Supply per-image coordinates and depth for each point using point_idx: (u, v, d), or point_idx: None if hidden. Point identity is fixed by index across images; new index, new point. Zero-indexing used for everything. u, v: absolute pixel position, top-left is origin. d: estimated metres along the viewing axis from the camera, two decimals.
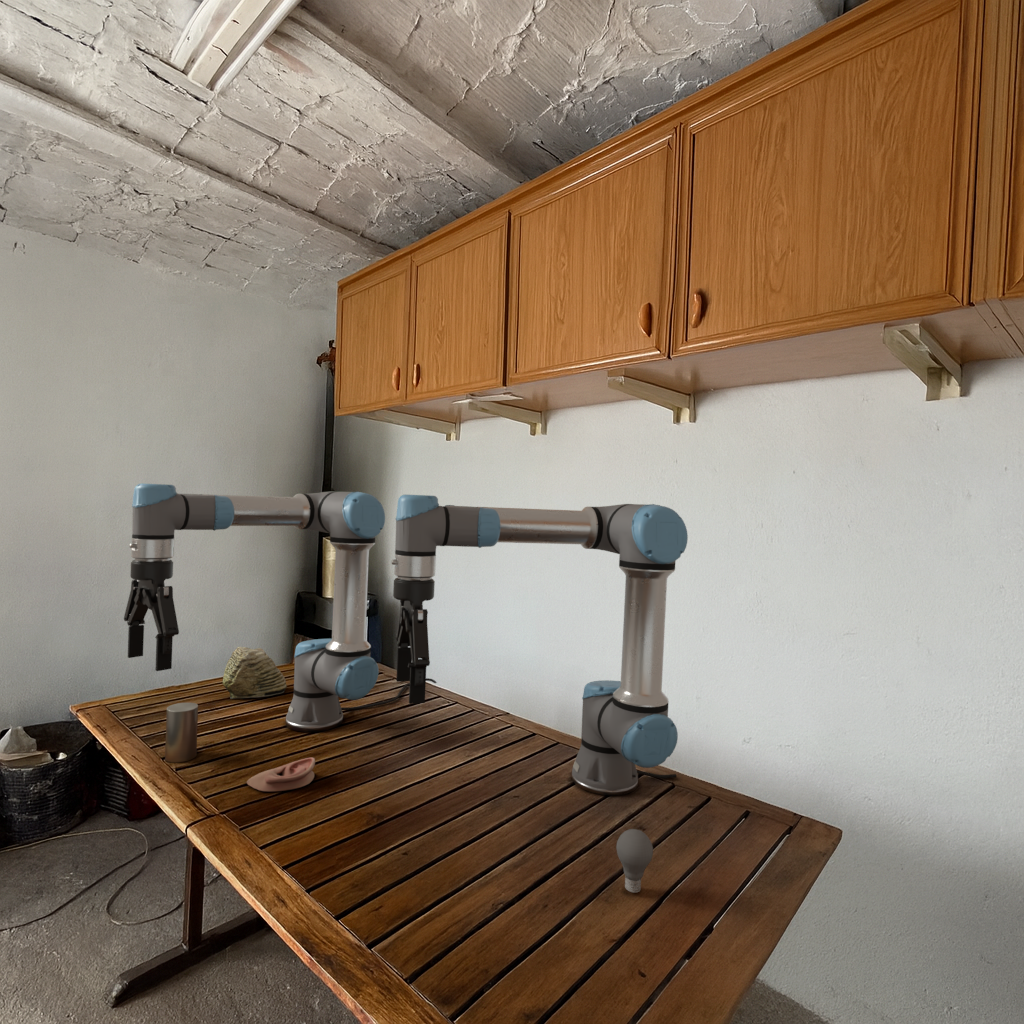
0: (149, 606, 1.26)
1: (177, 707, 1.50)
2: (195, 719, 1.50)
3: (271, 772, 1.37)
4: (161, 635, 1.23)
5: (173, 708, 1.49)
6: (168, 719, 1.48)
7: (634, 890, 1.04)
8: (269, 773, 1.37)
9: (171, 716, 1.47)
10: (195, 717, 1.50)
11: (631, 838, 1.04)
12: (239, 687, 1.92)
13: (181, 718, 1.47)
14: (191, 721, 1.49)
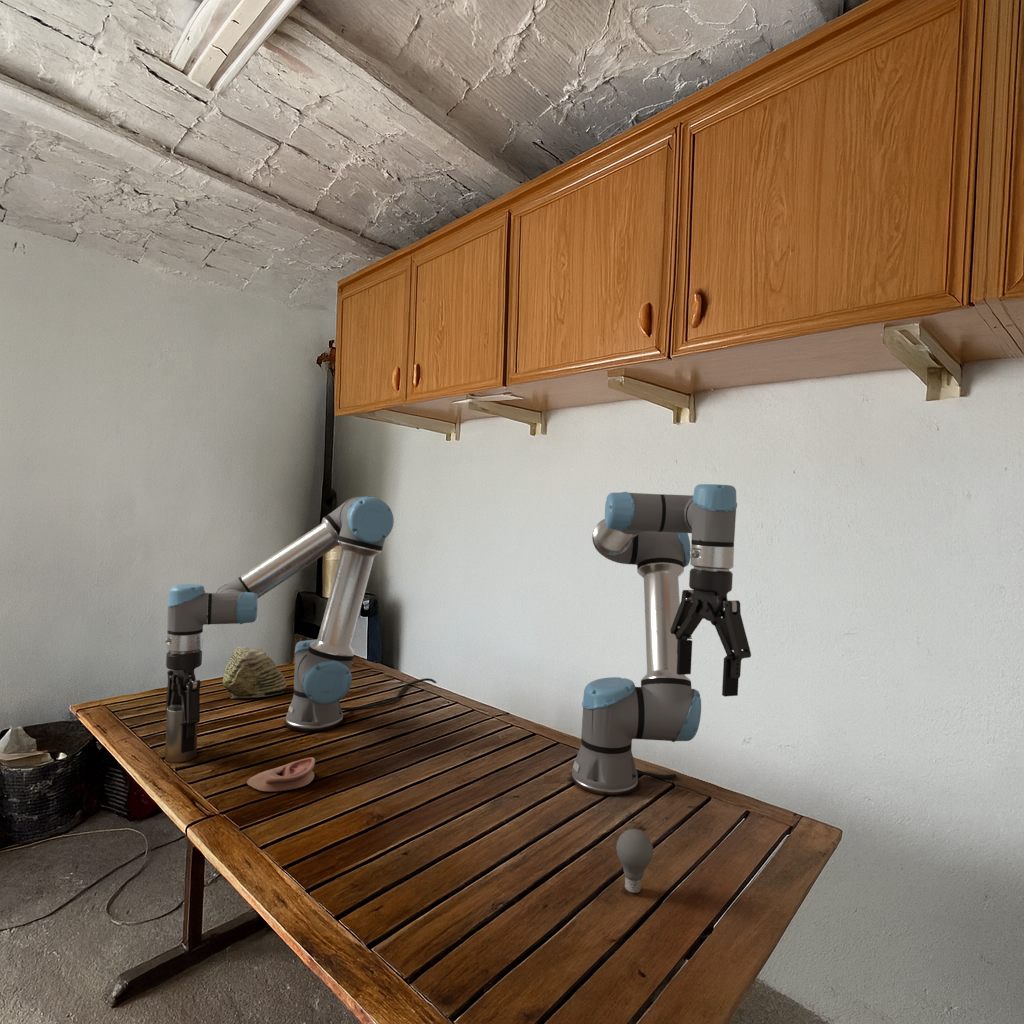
0: (179, 694, 1.47)
1: (177, 707, 1.50)
2: None
3: (271, 772, 1.37)
4: (185, 724, 1.46)
5: (173, 708, 1.49)
6: (168, 719, 1.48)
7: (634, 890, 1.04)
8: (269, 773, 1.37)
9: (171, 716, 1.47)
10: None
11: (631, 838, 1.04)
12: (239, 687, 1.92)
13: (181, 718, 1.47)
14: None
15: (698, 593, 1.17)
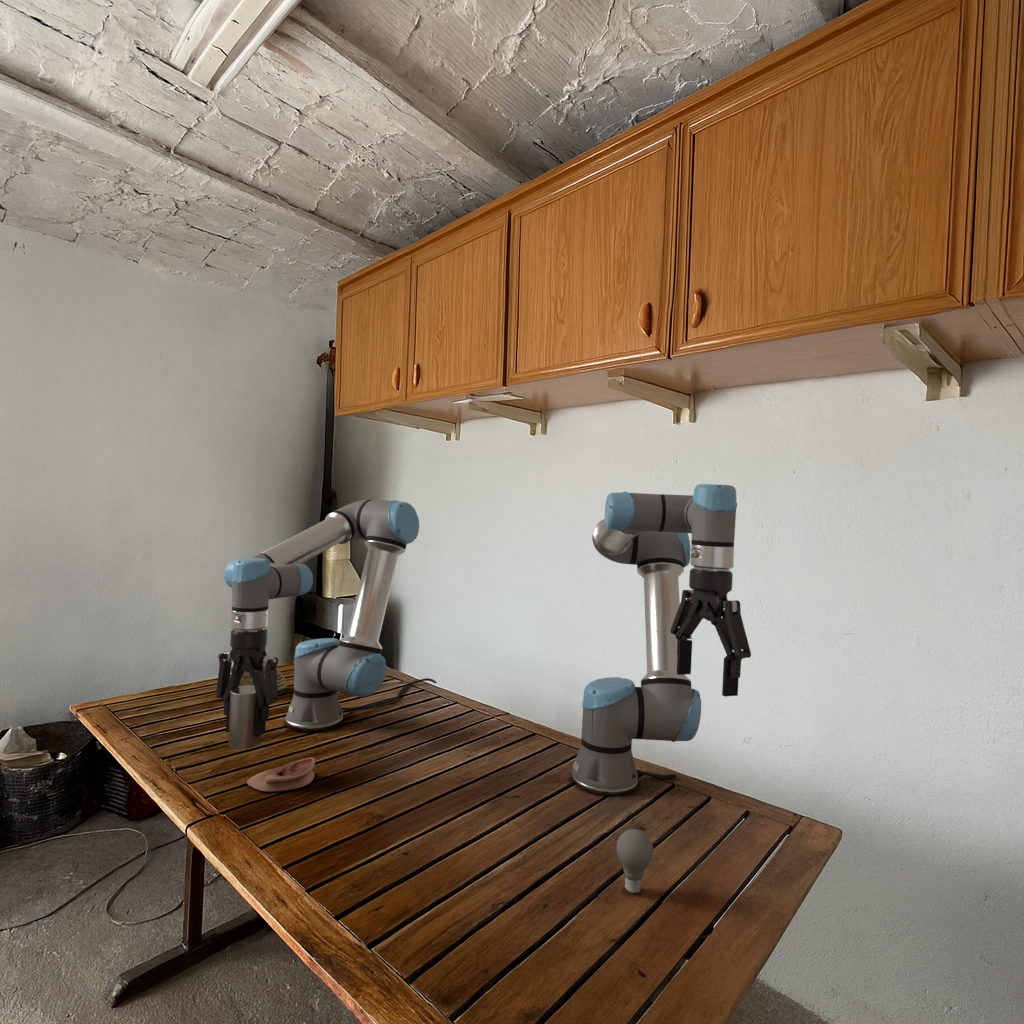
0: (252, 675, 1.38)
1: (242, 690, 1.39)
2: None
3: (271, 772, 1.37)
4: (263, 705, 1.37)
5: (241, 692, 1.38)
6: (238, 703, 1.37)
7: (634, 890, 1.04)
8: (269, 773, 1.37)
9: (244, 699, 1.37)
10: None
11: (631, 838, 1.04)
12: None
13: (254, 700, 1.38)
14: None
15: (698, 593, 1.17)
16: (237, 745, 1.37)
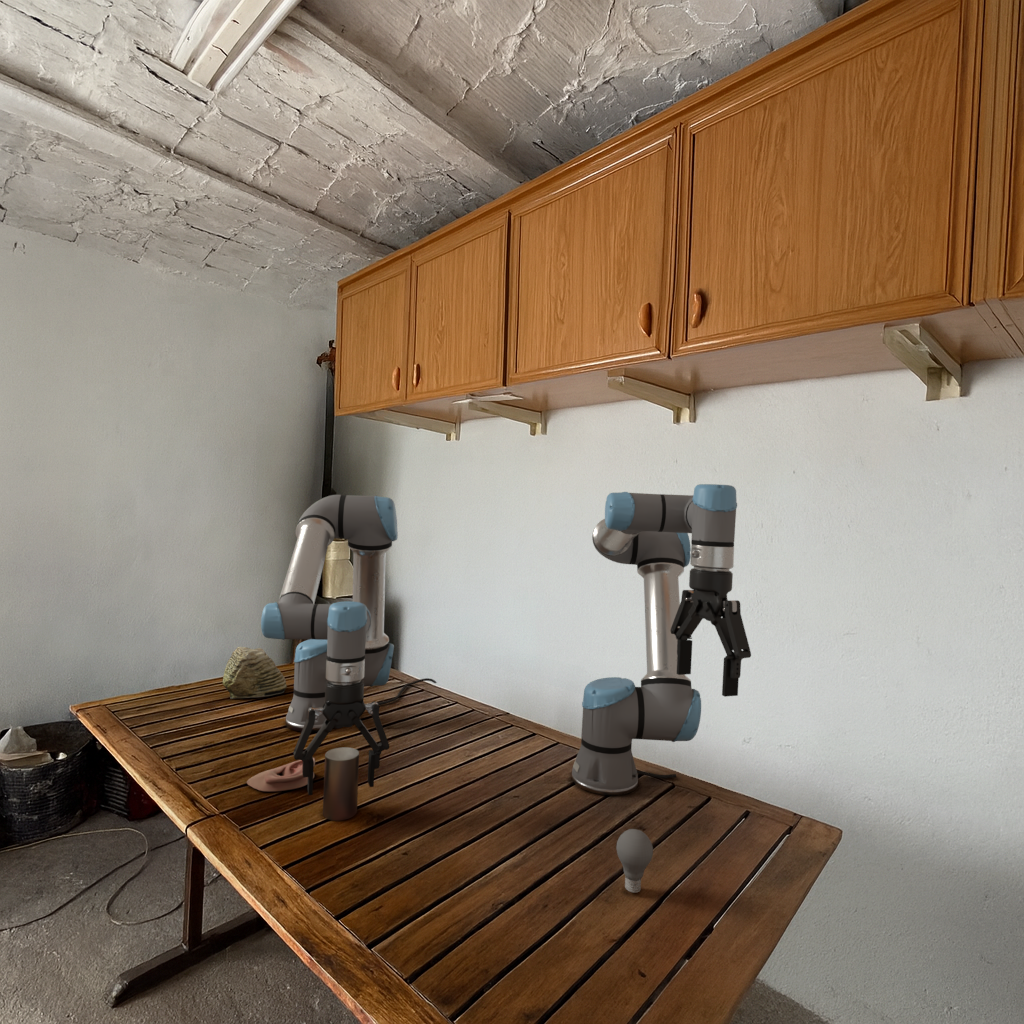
0: (360, 726, 1.27)
1: (341, 755, 1.26)
2: None
3: (271, 772, 1.37)
4: None
5: (344, 757, 1.25)
6: (346, 770, 1.25)
7: (634, 890, 1.04)
8: (269, 773, 1.37)
9: (352, 764, 1.25)
10: None
11: (631, 838, 1.04)
12: (239, 687, 1.92)
13: (358, 762, 1.27)
14: None
15: (698, 593, 1.17)
16: (345, 815, 1.25)
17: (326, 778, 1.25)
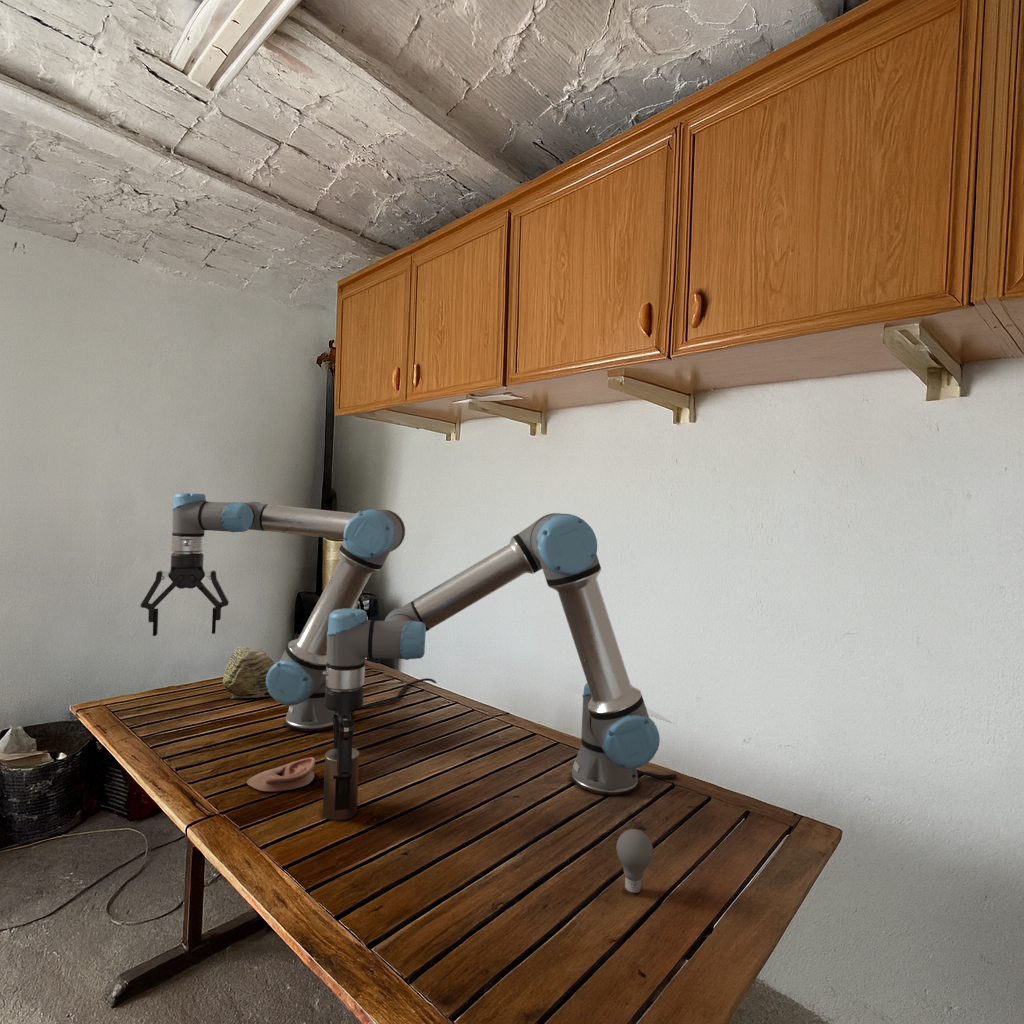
0: (200, 587, 1.64)
1: None
2: None
3: (271, 772, 1.37)
4: (220, 606, 1.67)
5: None
6: None
7: (634, 890, 1.04)
8: (269, 773, 1.37)
9: (352, 764, 1.25)
10: None
11: (631, 838, 1.04)
12: (239, 687, 1.92)
13: (358, 762, 1.27)
14: None
15: None
16: (345, 815, 1.25)
17: (326, 778, 1.25)
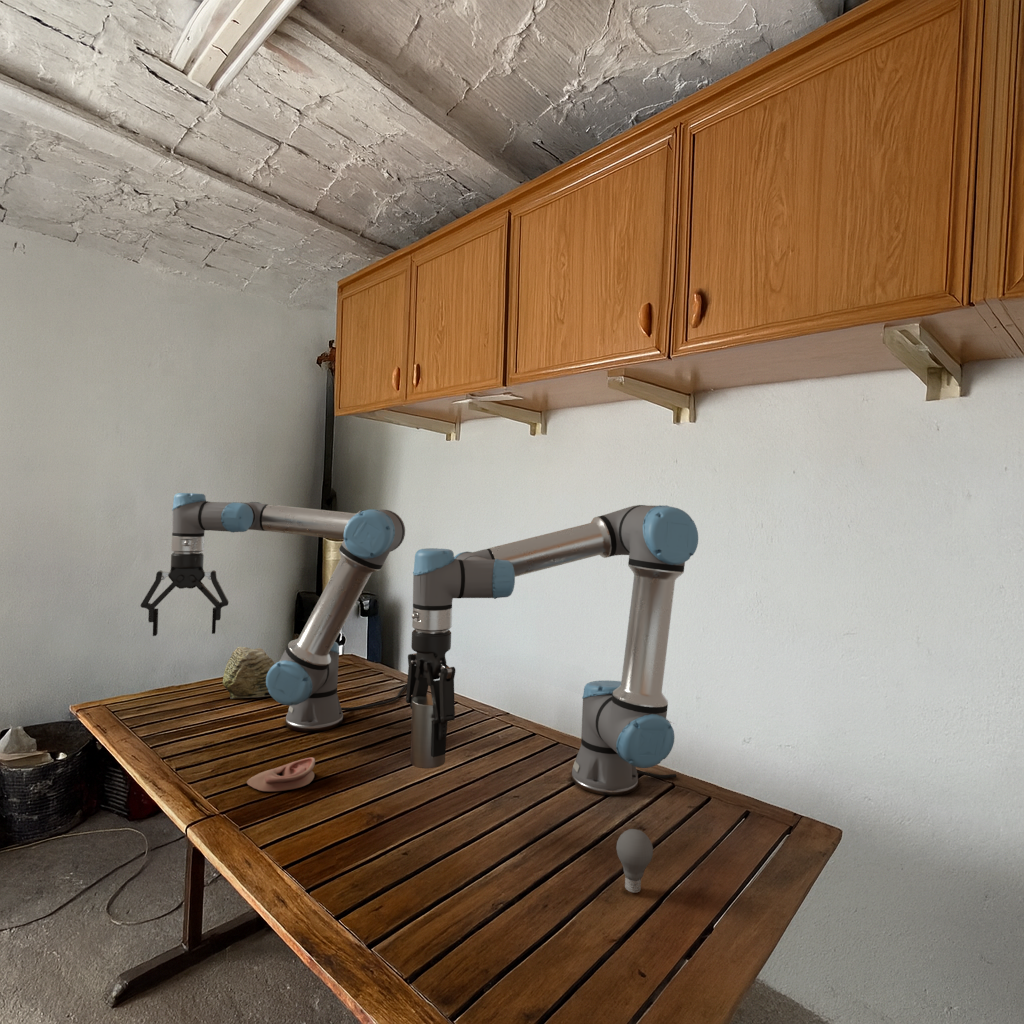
0: (200, 587, 1.64)
1: (431, 701, 1.21)
2: None
3: (271, 772, 1.37)
4: (220, 606, 1.67)
5: None
6: None
7: (634, 890, 1.04)
8: (269, 773, 1.37)
9: None
10: None
11: (631, 838, 1.04)
12: (239, 687, 1.92)
13: None
14: None
15: (420, 653, 1.22)
16: (440, 762, 1.20)
17: (419, 726, 1.19)
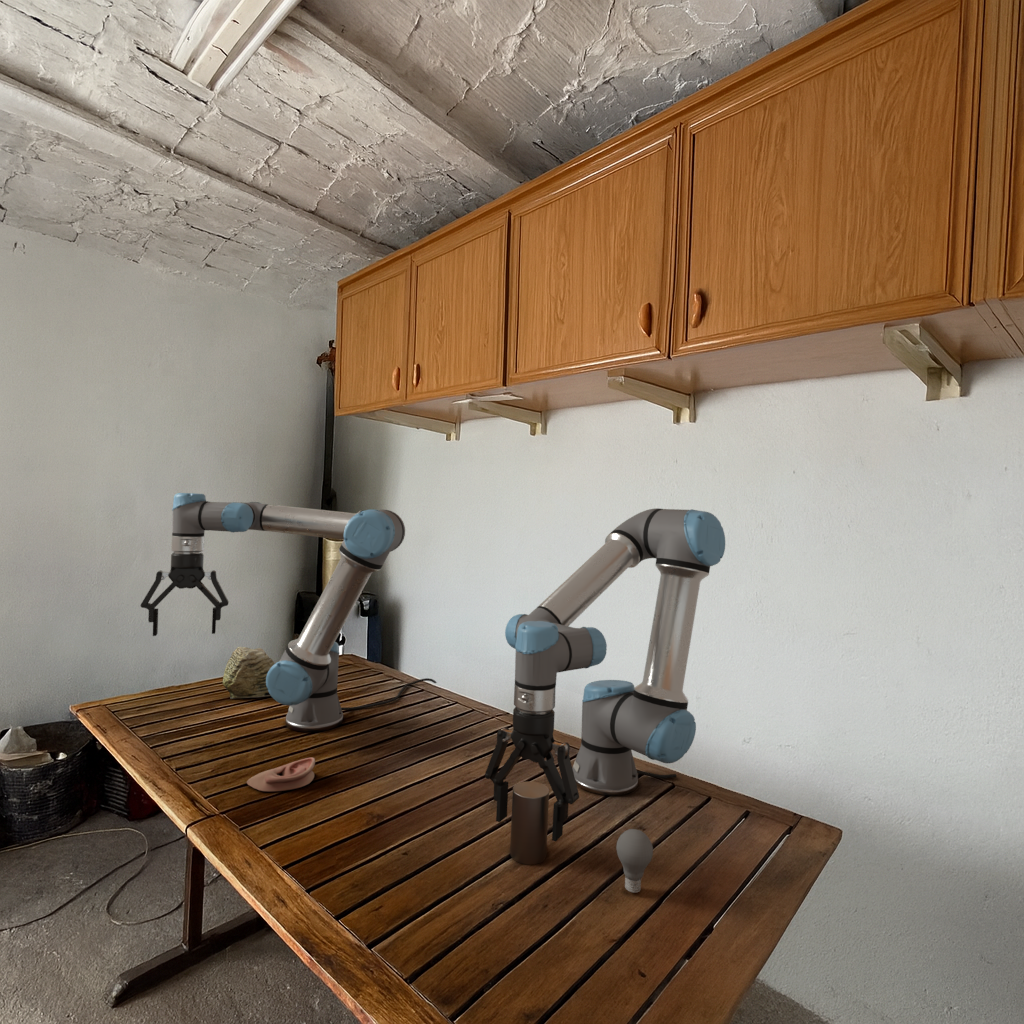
0: (200, 587, 1.64)
1: (535, 791, 1.15)
2: None
3: (271, 772, 1.37)
4: (220, 606, 1.67)
5: (541, 791, 1.14)
6: (548, 804, 1.14)
7: (634, 890, 1.04)
8: (269, 773, 1.37)
9: None
10: None
11: (631, 838, 1.04)
12: (239, 687, 1.92)
13: None
14: None
15: (520, 733, 1.15)
16: (545, 853, 1.15)
17: (528, 820, 1.12)
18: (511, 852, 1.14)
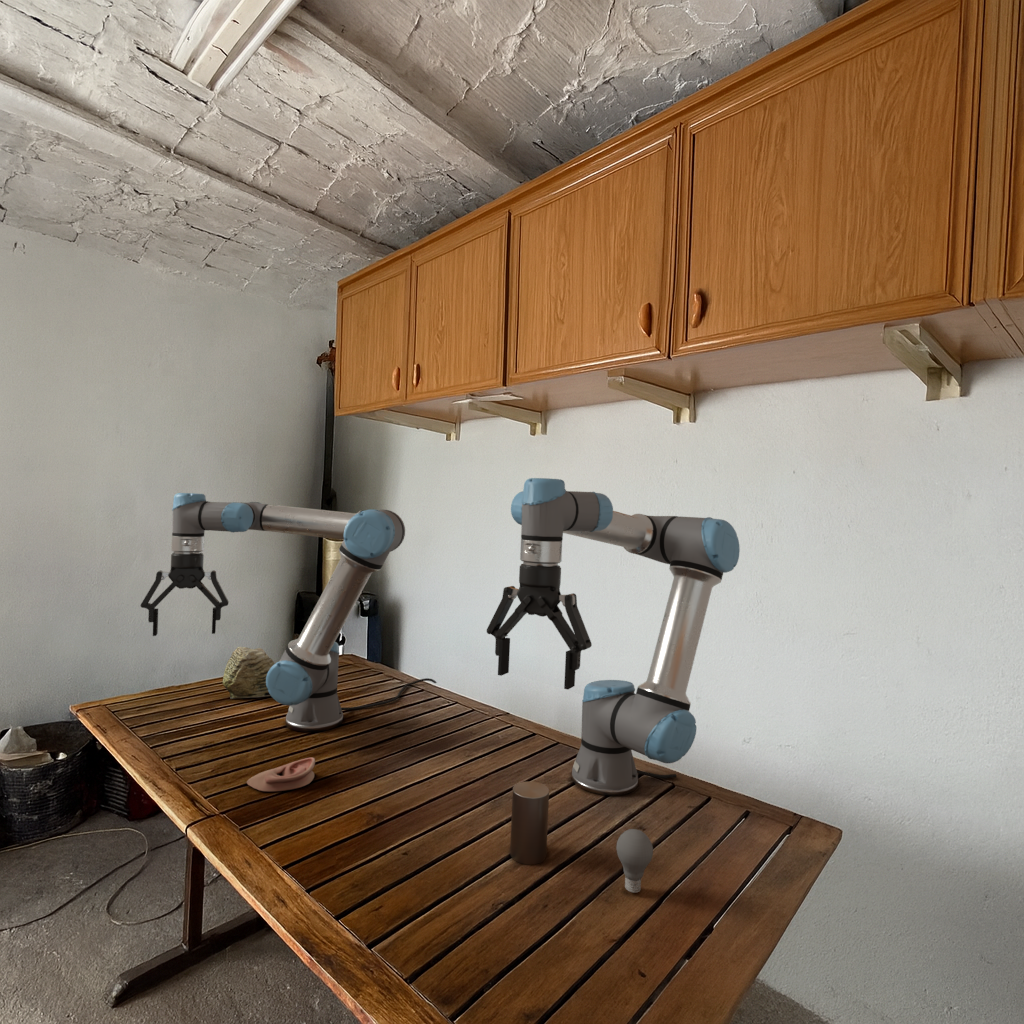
0: (200, 587, 1.64)
1: (535, 791, 1.15)
2: None
3: (271, 772, 1.37)
4: (220, 606, 1.67)
5: (541, 791, 1.14)
6: (548, 804, 1.14)
7: (634, 890, 1.04)
8: (269, 773, 1.37)
9: None
10: None
11: (631, 838, 1.04)
12: (239, 687, 1.92)
13: None
14: None
15: (527, 589, 1.15)
16: (545, 853, 1.15)
17: (528, 820, 1.12)
18: (511, 852, 1.14)
